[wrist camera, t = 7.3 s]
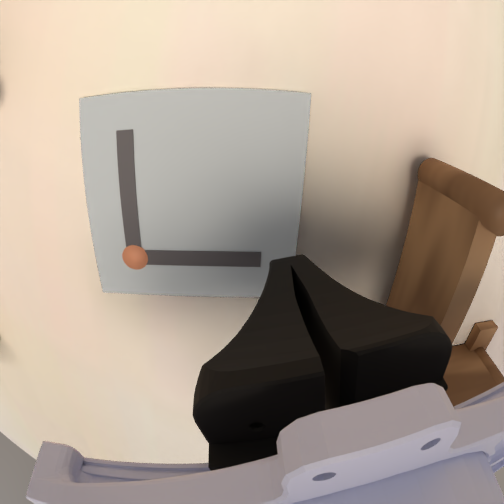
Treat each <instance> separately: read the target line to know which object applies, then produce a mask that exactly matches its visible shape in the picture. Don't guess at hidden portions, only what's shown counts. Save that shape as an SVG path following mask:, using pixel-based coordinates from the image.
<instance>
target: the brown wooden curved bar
mask: <svg viewBox="0 0 504 504" xmlns="http://www.w3.org/2000/svg"><path fill="white" fill-rule="evenodd" d="M503 235H504V191H502V190H500V189H499V188H497V187H495V186H493V185H491V184H489V183H487V182H485V181H483V180H481V179H479V178H477V177H475V176H473V175H471V174H468V173H466V172H464V171H462V170H460V169H458V168H455V167H453V166H451V165H449V164H446V163H444V162H442V161H439V160H437V159H435V158H428V159H426V160H425V161H423V162H422V164H421V165H420V167H419V170H418V185H417V190H416V195H415V200H414V205H413V209H412V214H411V218H410V223H409V227H408V231H407V235H406V239H405V243H404V247H403V251H402V254H401V258H400V262H399V265H398V269H397V272H396V276H395V279H394V282H393V286H392V289H391V292H390V295H389V298H388V301H387V304H386V306H388V307H392V308H395V309H399V310H402V311H406V312H411V313H416V314H422V315H428V316H433V317H434V318H435V320H436V321H437V322H438V323H439V324H440V325H441V327H442V328H443V330H444V331H445V332H446V334H447V335H448V337H449V338H450V340H451V342H452V343H453V341H454V339H455V337H456V335H457V333H458V331H459V329H460V327H461V324H462V322H463V320H464V318H465V316H466V314H467V312H468V309H469V307H470V305H471V303H472V300H473V298H474V296H475V293H476V291H477V288H478V286H479V283H480V281H481V278H482V276H483V273H484V271H485V268H486V265H487V262H488V260H489V257H490V254H491V251H492V248H493V245H494V242H495V239H496V236H503Z"/></svg>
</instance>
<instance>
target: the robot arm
mask: <svg viewBox="0 0 504 504" xmlns="http://www.w3.org/2000/svg"><path fill="white" fill-rule="evenodd" d="M451 352H452V342H451V340H450V338H449V337H448V335H447V334H446V332H445V331H444V330H443V328H442V327H441V325H440V324H439V323H438V322H437V321H436V320H435V318H434V317H433V316H428V315H422V314H416V313H411V312H406V311H402V310H399V309H395V308H392V307H388V306H385V305H382V304H380V303H377V302H375V301H372V300H370V299H367V298H365V297H363V296H361V295H359V294H357V293H355V292H353V291H351V290H349V289H348V288H346V287H344V286H343V285H341V284H340V283H338V282H337V281H335V280H334V279H332V278H331V277H330V276H328V275H327V274H326V273H325V272H323V271H322V270H321V269H320V268H318V267H317V266H316V265H315V264H314V263H313V262H311V261H310V260H309V259H308V258H307V257H306V256H305V255H303V254H302V255H296V256H291V257H285V258H280V259H275V260H271V262H270V263H269V273H268V277H267V280H266V283H265V286H264V289H263V292H262V294H261V296H260V298H259V301H258V303H257V305H256V307H255V309H254V310H253V312H252V314H251V315H250V317H249V319H248V320H247V322H246V323H245V324H244V326H243V327H242V329H241V330H240V331H239V332H238V334H237V335H236V336H235V337H234V338H233V339H232V340H231V341H230V342H229V344H228V345H227V346H226V347H225V348H224V349H222V350H221V351H220V352H219V353H218V354H217V355H215V356H214V357H213V358H212V359H210V360H209V361H208V362H207V363H205V364H204V365H203V366H202V368H201V371H200V374H199V377H198V381H197V385H196V388H195V393H194V404H193V417H194V420H195V423H196V424H197V426H198V427H199V429H200V431H201V432H202V434H203V435H204V437H205V438H206V440H207V441H208V443H209V463H196V464H156V463H134V462H120V461H110V460H100V459H92V458H85V457H83V456H82V455H81V454H80V452H78V451H77V450H76V449H75V448H73V447H71V446H69V445H65V444H60V443H54V442H48V441H43V443H42V446H41V448H40V451H39V454H38V457H37V460H36V464H35V467H34V470H33V473H32V476H31V479H30V483H29V487H28V490H27V493H26V498H27V499H28V500H30V501H31V502H33V503H35V504H504V496H503V494H502V491H501V489H500V487H499V484H498V482H497V480H496V477H495V475H494V473H495V472H496V471H497V470H499V469H501V468H502V467H504V382H503V383H501V384H499V385H497V386H495V387H493V388H491V389H490V390H488V391H486V392H484V393H482V394H480V395H478V396H475V397H473V398H471V399H469V400H467V401H465V402H463V403H460V404H458V405H456V406H453V404H452V402H451V401H450V399H449V397H448V395H447V393H446V391H447V389H448V385H447V383H446V382H445V380H444V378H443V376H444V373H445V371H446V368H447V365H448V362H449V360H450V357H451Z"/></svg>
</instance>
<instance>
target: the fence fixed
mask: <svg viewBox="0 0 504 504" xmlns="http://www.w3.org/2000/svg"><path fill="white" fill-rule="evenodd" d="M497 328H498V326H497V325H496V324H495V323H494V322H493V320H492V321H486V322H480V323H475V325H474V327H473V329H472V331H471V333H470V335H469V337H468V339H467V340H466V342H465V344H462V345H456V346H452V352H451V357H450V360H449V362H448V365H447V368H446V371H445V373H444V376H443V378H444V380H445V382H446V383H447V385H448V389H447V391H446V393H447V395H448V397H449V399H450V401H451V402H452V404H453V406H456V405H458V404H460V403H463V402H465V401H467V400H469V399H471V398H473V397H475V396H478V395H480V394H482V393H484V392H486V391H488V390H490V389H491V388H493V387H495V386H497V385H499V384H501V383H503V382H504V377H503V375H502V374H501V372H500V371H499V369H498V368H497V366H496V365H495V364H494V362H493V361H492V359H491V358H490V357H489V355H488V354H487V352H486V351H485V350H486V348H487V346H488V345H489V343H490V341H491V339H492V337H493V336H494V334H495V332H496V330H497Z"/></svg>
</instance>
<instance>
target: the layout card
mask: <svg viewBox="0 0 504 504" xmlns="http://www.w3.org/2000/svg"><path fill="white" fill-rule="evenodd" d="M79 103H80V134H81V151H82V163H83V174H84V184H85V193H86V201H87V208H88V215H89V222H90V228H91V234H92V240H93V246H94V251H95V256H96V262H97V267H98V271H99V276H100V281H101V285H102V289H103V292H106V293H124V294H145V295H170V296H203V297H260V296H261V294H262V292H263V289H264V286H265V283H266V280H267V277H268V273H269V263H270V262H271V260H275V259H280V258H285V257H291V256H296V248H297V240H298V231H299V223H300V214H301V204H302V195H303V185H304V175H305V164H306V153H307V142H308V130H309V117H310V103H311V93H303V92H292V91H281V90H266V89H246V88H179V89H159V90H145V91H134V92H124V93H115V94H107V95H99V96H92V97H86V98H79Z"/></svg>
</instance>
